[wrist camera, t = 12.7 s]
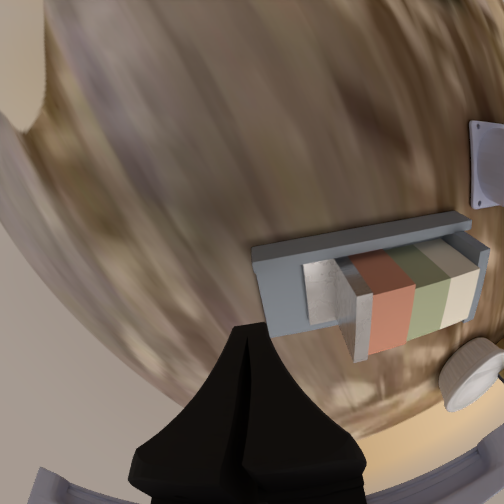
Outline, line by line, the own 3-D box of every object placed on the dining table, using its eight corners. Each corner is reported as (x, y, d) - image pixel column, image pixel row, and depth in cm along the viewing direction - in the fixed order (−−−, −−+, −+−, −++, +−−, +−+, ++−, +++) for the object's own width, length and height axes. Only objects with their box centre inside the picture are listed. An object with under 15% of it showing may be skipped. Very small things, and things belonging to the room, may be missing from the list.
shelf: (454, 210, 19) (499, 236, 13) (445, 287, 22) (478, 322, 17) (251, 247, 20) (252, 292, 15) (269, 330, 23) (274, 383, 18)
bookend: (344, 252, 19) (373, 292, 14) (346, 312, 21) (367, 359, 16) (301, 260, 19) (318, 304, 14) (308, 320, 22) (322, 370, 17)
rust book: (380, 247, 19) (415, 284, 14) (378, 300, 21) (405, 343, 16) (344, 254, 19) (372, 295, 14) (345, 308, 21) (367, 355, 16)
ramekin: (490, 315, 25) (512, 339, 20) (489, 355, 28) (504, 376, 24) (427, 365, 27) (444, 395, 22) (435, 396, 31) (448, 420, 26)
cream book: (440, 238, 19) (480, 268, 14) (434, 283, 21) (467, 318, 16) (412, 244, 19) (451, 278, 14) (408, 290, 21) (439, 329, 16)
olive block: (412, 244, 19) (451, 278, 14) (408, 290, 21) (439, 329, 16) (380, 251, 19) (415, 288, 14) (378, 298, 21) (406, 341, 16)
